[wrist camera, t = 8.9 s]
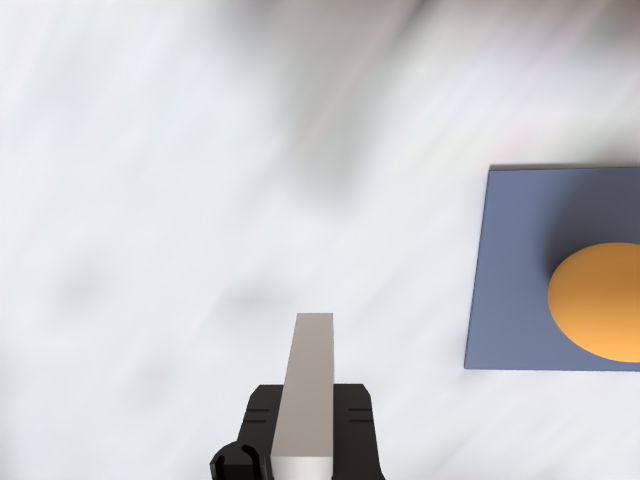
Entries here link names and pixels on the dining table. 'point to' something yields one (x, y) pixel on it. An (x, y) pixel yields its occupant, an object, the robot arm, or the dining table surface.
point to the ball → (600, 300)
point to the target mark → (542, 261)
